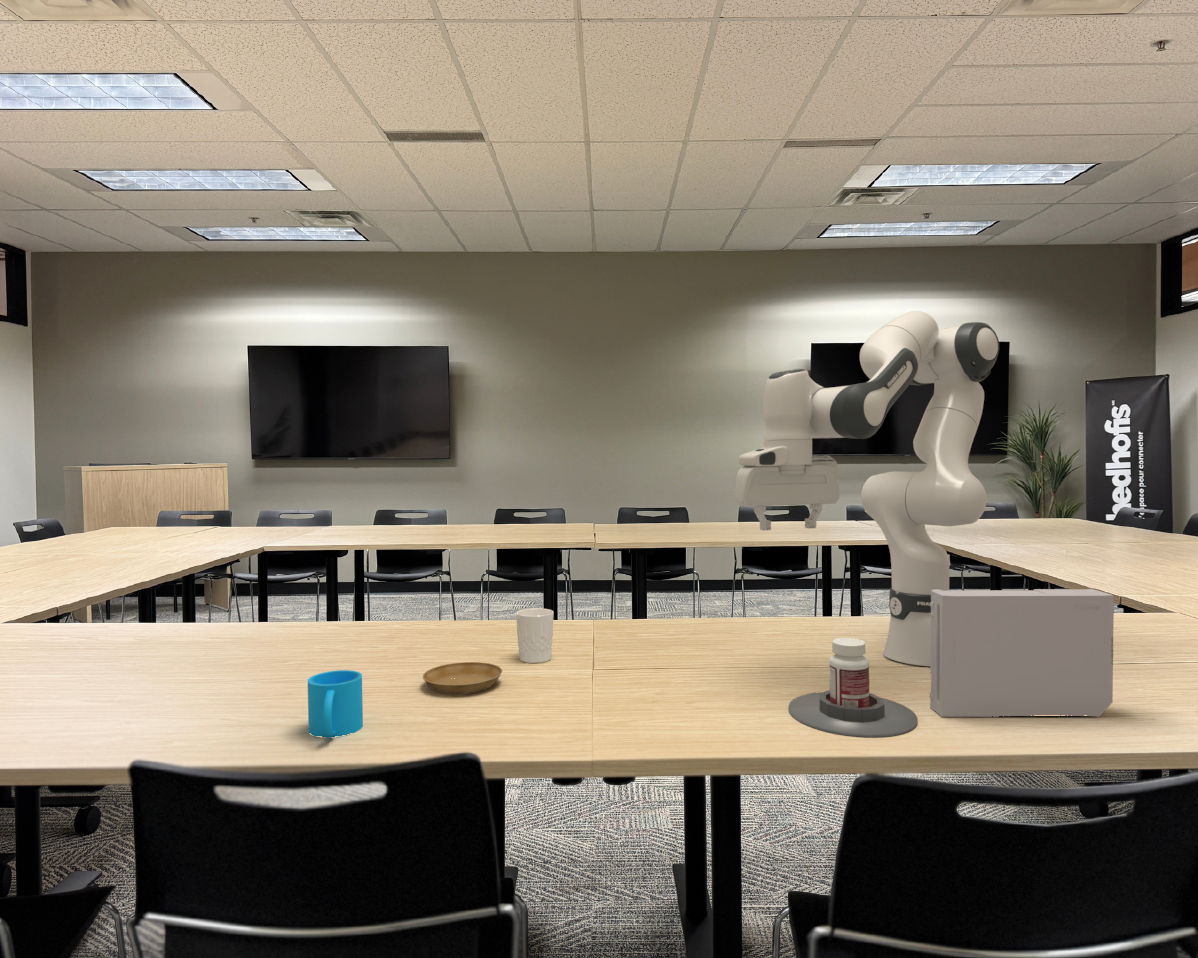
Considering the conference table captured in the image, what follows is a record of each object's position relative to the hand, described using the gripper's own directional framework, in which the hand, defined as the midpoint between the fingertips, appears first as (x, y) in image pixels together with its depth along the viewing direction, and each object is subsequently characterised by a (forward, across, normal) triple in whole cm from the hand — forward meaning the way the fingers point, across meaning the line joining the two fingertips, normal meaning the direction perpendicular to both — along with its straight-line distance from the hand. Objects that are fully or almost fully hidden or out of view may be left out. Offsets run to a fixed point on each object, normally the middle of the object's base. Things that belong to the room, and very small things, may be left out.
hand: (788, 529), depth 139 cm
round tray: (+29, 0, +20) cm, 35 cm away
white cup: (+29, +44, -28) cm, 60 cm away
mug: (+28, +81, +5) cm, 86 cm away
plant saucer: (+29, +60, -14) cm, 68 cm away
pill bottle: (+28, 0, +19) cm, 34 cm away
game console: (+29, -28, +26) cm, 48 cm away
